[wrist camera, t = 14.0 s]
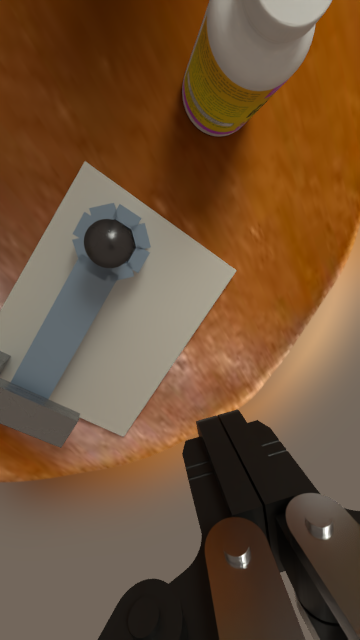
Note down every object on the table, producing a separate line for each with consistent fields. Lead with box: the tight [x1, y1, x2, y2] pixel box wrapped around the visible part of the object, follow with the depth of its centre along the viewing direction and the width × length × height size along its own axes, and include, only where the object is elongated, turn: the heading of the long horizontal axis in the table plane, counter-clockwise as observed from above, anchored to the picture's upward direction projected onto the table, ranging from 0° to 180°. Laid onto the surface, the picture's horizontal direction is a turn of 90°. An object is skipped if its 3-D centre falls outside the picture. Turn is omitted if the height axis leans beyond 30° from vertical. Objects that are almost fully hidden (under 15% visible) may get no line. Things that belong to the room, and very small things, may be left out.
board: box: [0, 161, 237, 437], centre depth 29 cm, size 22×17×1 cm
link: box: [11, 203, 151, 399], centre depth 26 cm, size 19×6×3 cm, turn 148°
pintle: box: [84, 219, 133, 268], centre depth 23 cm, size 3×3×9 cm
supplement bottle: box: [182, 0, 332, 137], centre depth 20 cm, size 7×7×13 cm
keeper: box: [0, 351, 80, 448], centre depth 27 cm, size 3×10×6 cm, turn 56°
